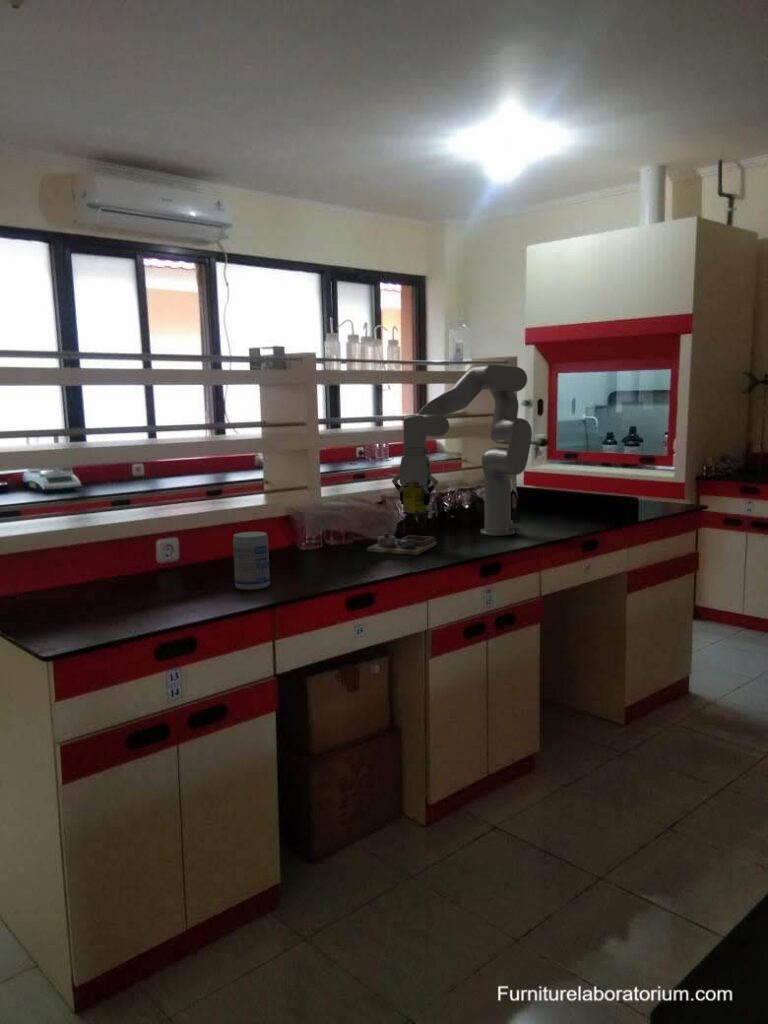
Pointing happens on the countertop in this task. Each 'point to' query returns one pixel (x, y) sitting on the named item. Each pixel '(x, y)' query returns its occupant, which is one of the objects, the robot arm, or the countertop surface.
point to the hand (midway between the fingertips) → (415, 504)
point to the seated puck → (406, 544)
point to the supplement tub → (251, 560)
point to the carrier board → (392, 544)
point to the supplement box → (413, 499)
